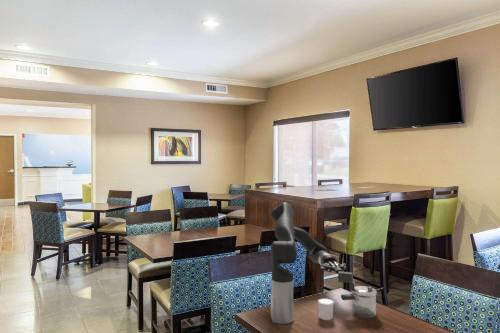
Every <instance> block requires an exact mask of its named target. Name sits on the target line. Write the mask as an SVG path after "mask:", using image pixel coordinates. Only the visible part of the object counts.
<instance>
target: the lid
mask: <svg viewBox="0 0 500 333" xmlns="http://www.w3.org/2000/svg"><path fill="white" fill-rule="evenodd" d="M337 275H338V276H337V282H339V283H346V284H347V283H349V290H350V291H351V294H352V293H353V294H355V295H357V296H362V297H373V296H376V297H377V294H378V291H377V289H375V288H373V286H365V285H356V283H355V281H354V280H353V272H350V271H342V272H341V271H339V272H338V274H337Z"/></svg>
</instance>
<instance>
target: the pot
mask: <svg viewBox="0 0 500 333" xmlns="http://www.w3.org/2000/svg"><path fill="white" fill-rule="evenodd" d="M340 298H341V299H342V301H351V302H352V304H351V306H352V307H351V312H352V314H353V315H354V316H356V317H359V318H363V319H372V318H374V317H376V316H377V295H376V296H373V297H362V296H357V295H355V294H353V293H352V292H351V293H345V294H341V295H340Z"/></svg>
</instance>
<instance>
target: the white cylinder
mask: <svg viewBox="0 0 500 333" xmlns="http://www.w3.org/2000/svg"><path fill="white" fill-rule="evenodd" d="M317 307H318V318H319V319H321V320H323V321H331V320H333V318H334V317H333V316H334V307H335V301H334V300H333V299H330V298H319V299H318V300H317Z"/></svg>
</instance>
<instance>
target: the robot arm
mask: <svg viewBox="0 0 500 333" xmlns="http://www.w3.org/2000/svg"><path fill="white" fill-rule="evenodd" d="M270 215H271V217H272V219H273V220H274V222H275V225H274V235H275V238H276V239H277V240H276V241H275V240H274V241H272V242H271V246H270V258H271V260H270V262H271V295H270V319H271V321H272V323H273V324H281V325H285V324H286V325H287V324H290V323H291V324H292V323H293V321H294V273H293V271H291V270H289V269H287V268H286V267H285V268H284V267H283V266H281V265H280V264H285V265H286V264H294V263H295V262H296V261H297V257H298V251H297V245H296V244H297V243H296V241H297V242H298V243H299V244H300V245H301V246H302V247H303V248H304V249H305V250H307V251H308V250H311V249H312V250H311V251H310V252H309V253H308V259H309V260H310V261H311V262H312V263H314V264H319V265H320V270H321V271H324V272H325V271H326V272H329V273H332V272H333V273H335V274H337V275H338V272H339V271H341V272H345V270H346V268H347V266H346V265H347V264H346V263H345V262H344V263H340V262H338V260H337V258H335V256H333V255H332V254H331V253H328V249H327V247H326V246H325V245H323V244H321V243H319V242H318V241H317V240H316V239H314V238H313V237H312V236H311V234H309V233H308V231H306V229H302V228H300V227H296V226H295V225H294V217H295V212H294V209H293V207H292V205H291V204H290V203H289V202H287V201H285V202H281V203H280V204H278V205H277V206H276V207H274V208H273V209H272V210H271V212H270Z"/></svg>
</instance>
